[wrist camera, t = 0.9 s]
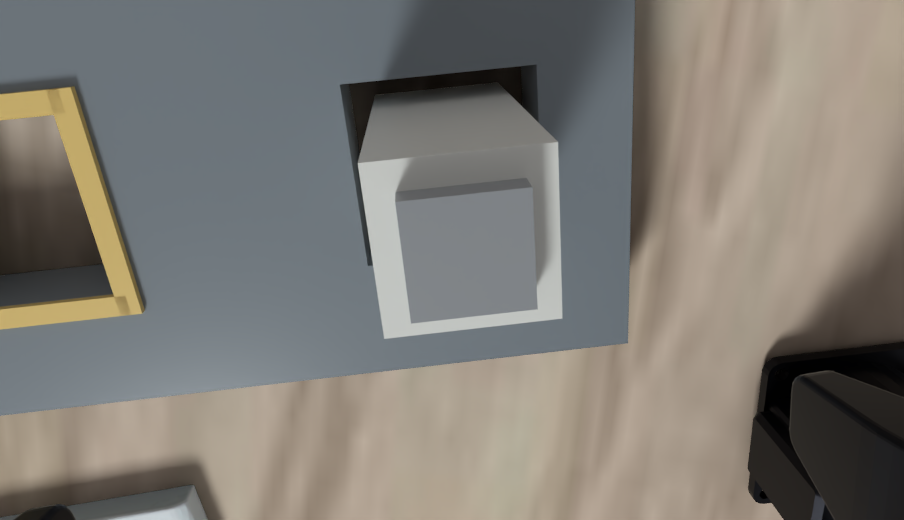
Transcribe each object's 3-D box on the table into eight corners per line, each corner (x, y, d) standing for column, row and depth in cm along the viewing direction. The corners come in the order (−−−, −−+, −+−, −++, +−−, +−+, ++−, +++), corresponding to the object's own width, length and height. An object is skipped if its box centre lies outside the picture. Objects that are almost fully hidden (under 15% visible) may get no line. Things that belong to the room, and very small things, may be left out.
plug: (497, 82, 19) (566, 149, 11) (504, 199, 20) (569, 333, 12) (375, 94, 19) (354, 172, 11) (390, 210, 20) (383, 354, 12)
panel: (606, -90, 17) (640, -103, 15) (604, 306, 22) (630, 346, 20) (-233, -10, 17) (-345, -10, 14) (-49, 380, 21) (-108, 431, 19)
